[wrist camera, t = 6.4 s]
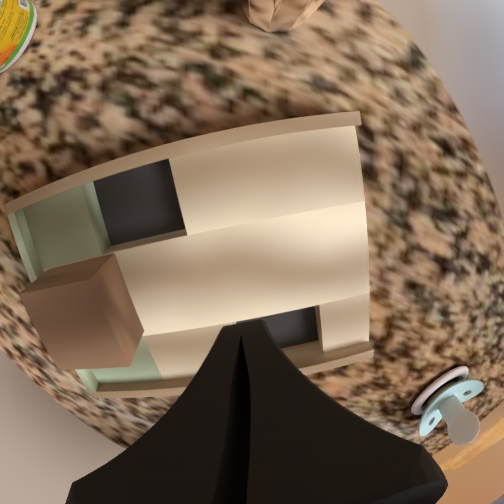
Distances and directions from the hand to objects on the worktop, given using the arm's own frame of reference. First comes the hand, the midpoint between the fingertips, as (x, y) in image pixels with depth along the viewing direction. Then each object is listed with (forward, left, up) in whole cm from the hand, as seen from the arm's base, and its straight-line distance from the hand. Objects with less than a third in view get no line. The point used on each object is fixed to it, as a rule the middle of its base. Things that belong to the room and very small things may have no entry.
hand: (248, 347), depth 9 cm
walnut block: (0, +8, -5) cm, 10 cm away
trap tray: (0, +3, -7) cm, 7 cm away
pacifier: (-16, -15, -7) cm, 23 cm away
